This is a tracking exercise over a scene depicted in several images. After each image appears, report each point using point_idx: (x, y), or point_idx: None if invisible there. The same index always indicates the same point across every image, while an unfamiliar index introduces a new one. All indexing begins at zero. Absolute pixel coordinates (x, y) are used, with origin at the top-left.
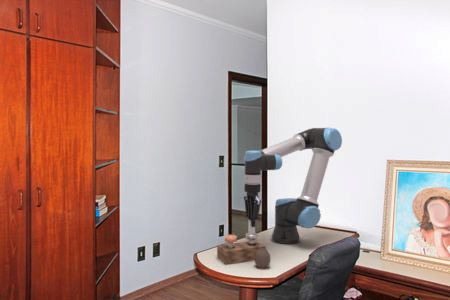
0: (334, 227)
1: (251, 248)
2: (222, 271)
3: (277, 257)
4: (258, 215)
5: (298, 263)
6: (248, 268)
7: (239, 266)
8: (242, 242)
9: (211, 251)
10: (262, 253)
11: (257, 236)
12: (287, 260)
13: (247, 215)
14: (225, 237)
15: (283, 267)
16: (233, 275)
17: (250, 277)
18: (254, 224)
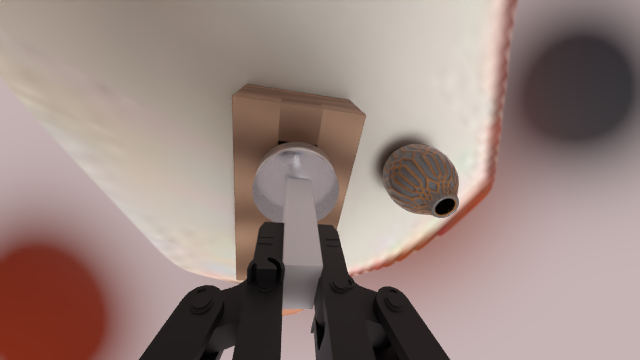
0: None
1: (345, 192)
2: (354, 267)
3: (369, 23)
4: (441, 347)
5: None
6: (383, 207)
7: (352, 220)
8: (242, 183)
9: (165, 231)
10: (446, 206)
11: (330, 163)
12: (433, 7)
13: (224, 348)
14: (283, 313)
15: (466, 99)
16: (392, 257)
17: (432, 233)
18: (339, 248)
